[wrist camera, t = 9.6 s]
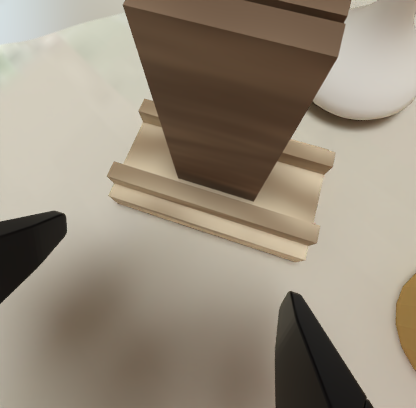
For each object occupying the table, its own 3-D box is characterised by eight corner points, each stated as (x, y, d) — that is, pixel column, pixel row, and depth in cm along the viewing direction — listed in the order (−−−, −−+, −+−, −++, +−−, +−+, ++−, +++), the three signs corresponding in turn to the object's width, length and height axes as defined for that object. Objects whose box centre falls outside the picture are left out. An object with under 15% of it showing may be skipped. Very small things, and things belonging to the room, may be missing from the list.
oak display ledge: (295, 262, 19) (313, 259, 16) (117, 203, 20) (100, 189, 17) (318, 161, 21) (338, 140, 18) (158, 115, 23) (149, 88, 20)
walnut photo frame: (253, 201, 18) (338, 56, 6) (177, 178, 19) (122, 4, 7) (263, 166, 19) (356, -21, 7) (191, 145, 20) (162, -63, 8)
